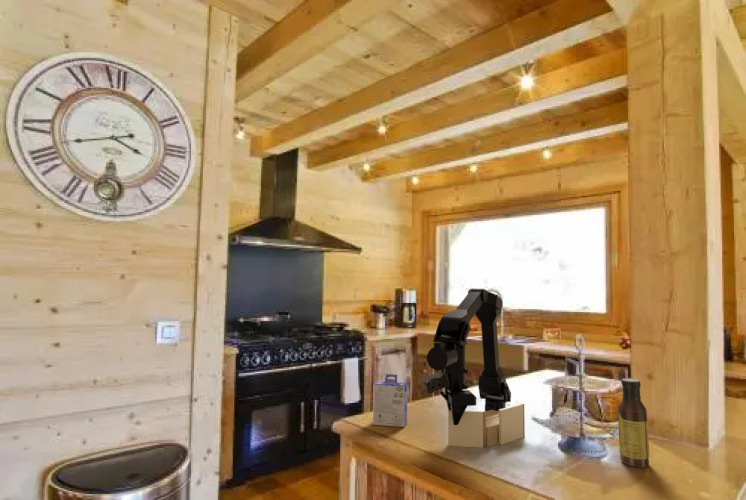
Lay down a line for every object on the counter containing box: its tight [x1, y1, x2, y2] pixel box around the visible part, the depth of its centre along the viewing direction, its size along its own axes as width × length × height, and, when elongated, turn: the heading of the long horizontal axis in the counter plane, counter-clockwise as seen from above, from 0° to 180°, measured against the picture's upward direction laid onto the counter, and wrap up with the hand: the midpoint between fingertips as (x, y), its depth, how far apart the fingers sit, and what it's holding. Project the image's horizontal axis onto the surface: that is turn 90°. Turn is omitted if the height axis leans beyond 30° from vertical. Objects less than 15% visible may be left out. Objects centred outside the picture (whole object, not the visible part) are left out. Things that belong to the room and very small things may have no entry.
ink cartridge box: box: [372, 373, 408, 428], centre depth 139 cm, size 10×6×14 cm, turn 78°
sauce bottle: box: [617, 377, 650, 469], centre depth 110 cm, size 6×6×20 cm
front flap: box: [447, 409, 487, 449], centre depth 120 cm, size 1×10×9 cm, turn 82°
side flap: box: [498, 403, 526, 445], centre depth 125 cm, size 11×1×9 cm, turn 128°
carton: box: [484, 410, 499, 448], centre depth 128 cm, size 15×10×5 cm, turn 128°
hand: (454, 423), depth 120 cm, fingers open, 2 cm apart
